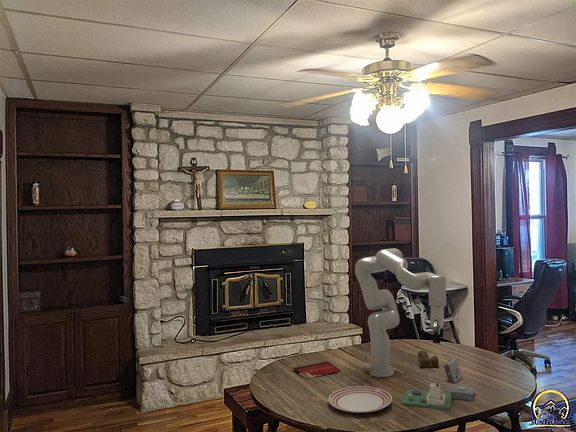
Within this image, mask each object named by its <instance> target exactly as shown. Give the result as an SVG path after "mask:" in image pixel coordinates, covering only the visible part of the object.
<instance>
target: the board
mask: <svg viewBox="0 0 576 432" xmlns="http://www.w3.org/2000/svg"><path fill="white" fill-rule="evenodd" d="M452 401H453V399H452V396H451V392H450V393H449V392H443V391H442V392H441V400H437V399H431V398H430V390H418V389H408V388H407V389H406V390H405V393H404V395H403V397H402V400H401V402H400V403H401V404H400V405H401V406H408V407H418V408H419V407H420V408H428V409H429V408H430V409H439V410H447V411H450V410H451V406H452Z"/></svg>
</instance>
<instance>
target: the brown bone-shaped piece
mask: <svg viewBox="0 0 576 432" xmlns="http://www.w3.org/2000/svg"><path fill="white" fill-rule="evenodd" d="M417 358H418V366H419V368H420V369H422V368H424V367H426V366H433V367H435V368H439V367H440V366H439V358H438V356H437V355H433V356H432V357H431V358H429V355H428V353H427V352H426V351H425V350H420V351H418V353H417Z"/></svg>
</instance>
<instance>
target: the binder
mask: <svg viewBox="0 0 576 432" xmlns="http://www.w3.org/2000/svg"><path fill="white" fill-rule="evenodd" d="M292 369H295V370H296V373H302V374H303V373H304V374H305V373H310V374H311V375H317V376H318V375H324V376H326V375H325V374H329V375H333V374H332V373H336V374H338V373H337V372H340V373H341V369H339V368H337V367H336V366H335V365H334V364H332V363H331V362H329V361H323V362H318V363H311V364H306V365H302V366H296V367H293V368H292Z"/></svg>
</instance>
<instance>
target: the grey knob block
mask: <svg viewBox="0 0 576 432" xmlns="http://www.w3.org/2000/svg"><path fill="white" fill-rule="evenodd" d="M450 393H451V396H452V400H460V401H461V400H463V401H472V402H473V401H474V386H472V385H471V386H470V385H469V386H468V385H459V384H451V389H450Z"/></svg>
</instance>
